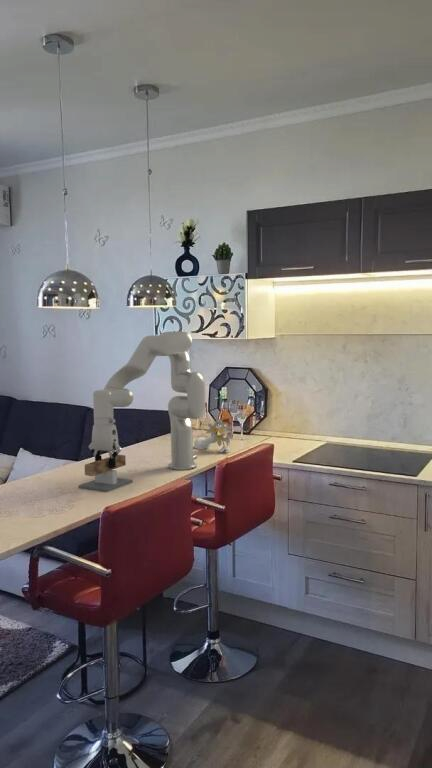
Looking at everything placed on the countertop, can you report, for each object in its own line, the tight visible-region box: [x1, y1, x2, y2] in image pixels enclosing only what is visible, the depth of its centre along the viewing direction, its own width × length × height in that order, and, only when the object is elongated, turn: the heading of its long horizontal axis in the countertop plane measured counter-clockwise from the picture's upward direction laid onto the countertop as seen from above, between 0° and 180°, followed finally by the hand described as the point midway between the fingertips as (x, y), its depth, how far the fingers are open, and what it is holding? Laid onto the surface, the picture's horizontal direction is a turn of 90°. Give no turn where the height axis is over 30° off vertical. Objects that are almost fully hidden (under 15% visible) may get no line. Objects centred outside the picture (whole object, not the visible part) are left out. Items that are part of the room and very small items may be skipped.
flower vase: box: [193, 417, 234, 453], centre depth 298 cm, size 13×18×25 cm
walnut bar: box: [84, 454, 127, 477], centre depth 232 cm, size 20×4×4 cm, turn 151°
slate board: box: [78, 469, 134, 493], centre depth 232 cm, size 16×14×6 cm
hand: (105, 466), depth 232 cm, fingers open, 6 cm apart
